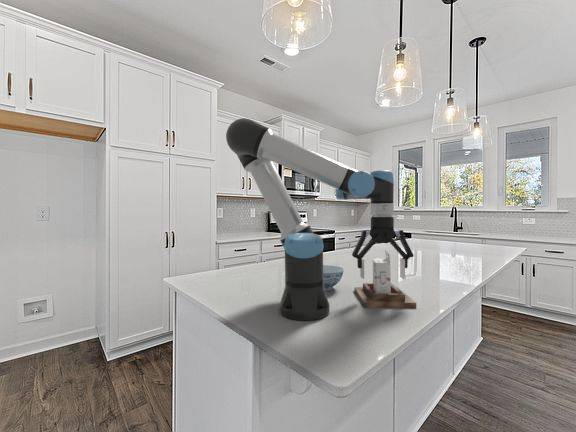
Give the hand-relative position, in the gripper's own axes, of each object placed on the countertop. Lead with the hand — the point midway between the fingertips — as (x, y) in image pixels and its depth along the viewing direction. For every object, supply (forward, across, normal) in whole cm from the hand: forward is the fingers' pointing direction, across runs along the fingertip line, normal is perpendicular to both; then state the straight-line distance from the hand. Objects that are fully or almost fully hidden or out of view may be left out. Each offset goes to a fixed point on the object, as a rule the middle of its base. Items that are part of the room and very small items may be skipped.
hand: (382, 277), depth 100 cm
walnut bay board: (+7, 0, 0) cm, 7 cm away
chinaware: (+7, -19, +13) cm, 24 cm away
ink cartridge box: (+6, 0, 0) cm, 6 cm away
